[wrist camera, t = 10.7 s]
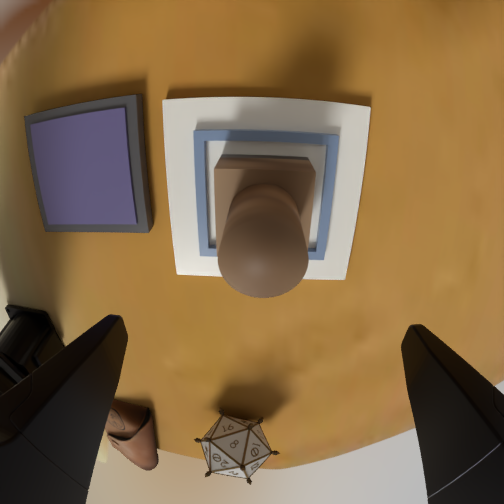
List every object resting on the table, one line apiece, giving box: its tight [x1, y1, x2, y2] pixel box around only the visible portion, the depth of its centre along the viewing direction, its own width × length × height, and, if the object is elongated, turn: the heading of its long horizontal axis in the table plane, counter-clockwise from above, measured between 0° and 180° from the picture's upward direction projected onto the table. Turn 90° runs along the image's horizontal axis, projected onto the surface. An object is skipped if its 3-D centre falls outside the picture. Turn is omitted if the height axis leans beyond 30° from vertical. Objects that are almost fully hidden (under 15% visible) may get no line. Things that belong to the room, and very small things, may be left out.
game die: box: [194, 408, 280, 485], centre depth 30 cm, size 9×8×10 cm
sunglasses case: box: [105, 399, 158, 470], centre depth 37 cm, size 18×7×7 cm
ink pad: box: [24, 94, 153, 233], centre depth 18 cm, size 9×9×1 cm
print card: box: [163, 97, 371, 280], centre depth 19 cm, size 12×12×1 cm
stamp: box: [214, 154, 316, 298], centre depth 16 cm, size 5×5×8 cm
